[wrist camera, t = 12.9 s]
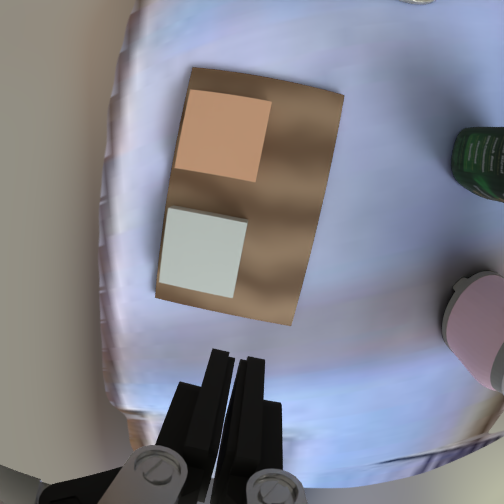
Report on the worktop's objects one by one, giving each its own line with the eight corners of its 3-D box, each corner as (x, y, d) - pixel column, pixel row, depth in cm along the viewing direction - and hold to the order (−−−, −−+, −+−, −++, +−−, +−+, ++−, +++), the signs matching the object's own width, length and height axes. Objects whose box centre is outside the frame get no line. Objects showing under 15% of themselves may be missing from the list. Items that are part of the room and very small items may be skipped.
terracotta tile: (271, 105, 30) (194, 93, 30) (272, 101, 28) (190, 89, 28) (256, 181, 32) (180, 167, 32) (255, 182, 30) (174, 167, 30)
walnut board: (194, 69, 30) (192, 67, 29) (342, 97, 30) (344, 95, 29) (157, 294, 37) (155, 297, 36) (290, 322, 37) (291, 326, 36)
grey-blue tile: (248, 219, 33) (173, 205, 33) (247, 223, 31) (168, 207, 31) (234, 290, 35) (164, 275, 35) (232, 298, 33) (158, 282, 33)
